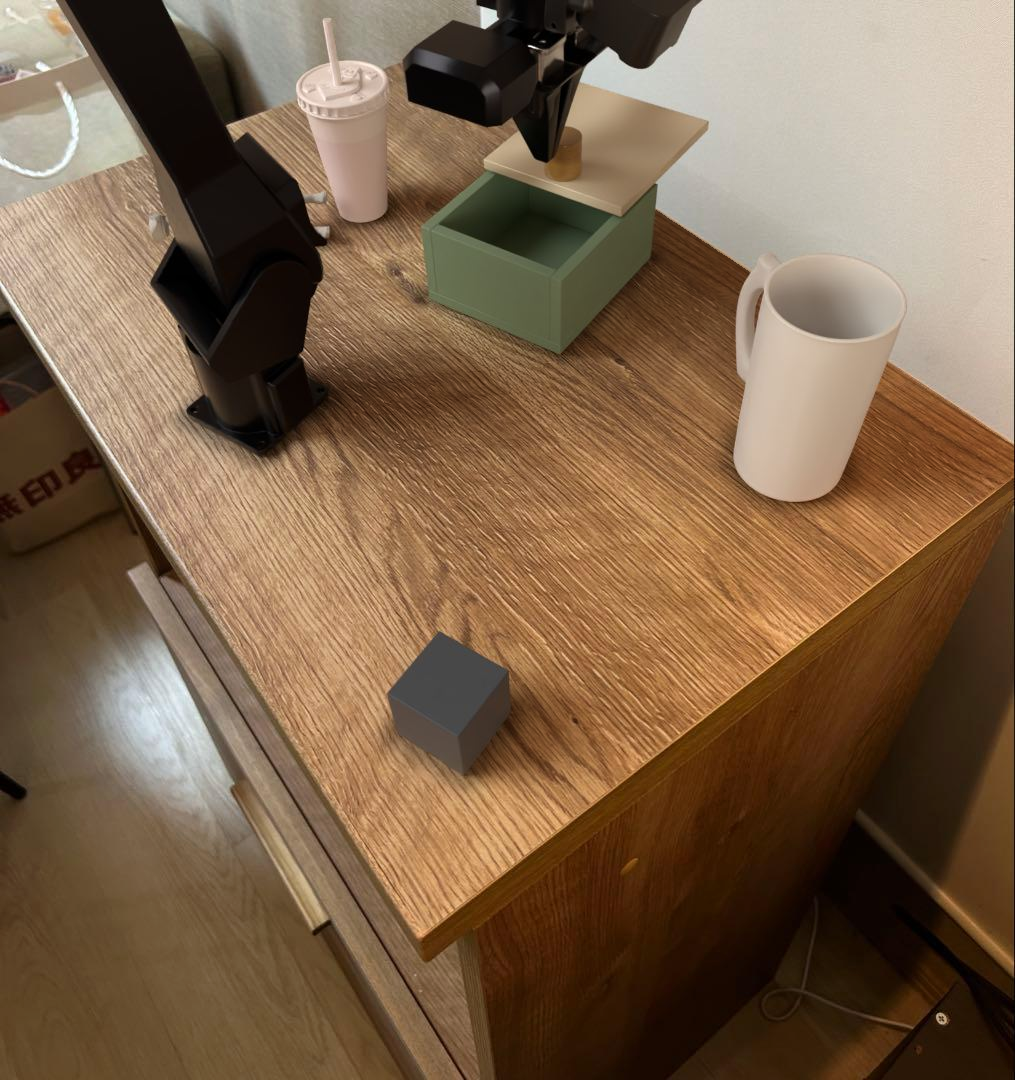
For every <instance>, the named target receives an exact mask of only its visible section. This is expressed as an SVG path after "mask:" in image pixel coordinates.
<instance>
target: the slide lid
mask: <svg viewBox="0 0 1015 1080" xmlns="http://www.w3.org/2000/svg"><path fill="white" fill-rule="evenodd" d="M709 124H710V121H709V120H708V119H707V120H706V119H703V118H699V117H698V116H694V115H690V114H687V113H684V112H681V111H677V110H673V109H672V108H671V109H670V108H667V107H665V106H664V107H663V106H661V105H657V104H655V103H650V102H648V101H644V100H642V99H639V98H634V97H631V96H629V95H628V96H627V95H625V94H621V93H618V92H614V91H611V90H607V89H604V88H601V87H598V86H595V85H591V84H588V83H584V82H582V81H580V82H579V85H578V87H577V90H576V93H575V96H574V99H573V102H572V105H571V108H570V111H569V115H568V118H567V121H566V124H565V127H564V130H563V133H562V137H561V140H560V143H559V146H558V149H557V152H556V155H555V157H554V158H553V159H552V160H550V161H549V162H548V163H544V162H541V161H538V160H536V159H535V158H534V157H533V155H532V154H531V152H530V150H529V148H528V146H527V144H526V143H525V141H524V139H523V137H522V135H521V133H520V131H519V130H517V131H516V132H515V133H513V134H512V135H511V136H510V137H508V139H506V140H505V141H504V142H503V143H501V144H500V145H499V146H498V147H497V148H496V149H494V150H493V151H492V152H491V153H490V154H488V155H487V156H486V157H485V158H484V159H483V168H484V169H485V170H486V171H487V170H490V171H493V172H496V173H498V174H501V175H504V176H507V177H510V178H512V179H515V180H518V181H521V182H524V183H527V184H529V185H532V186H535V187H538V188H541V189H544V190H546V191H549V192H552V193H555V194H558V195H560V196H563V197H566V198H569V199H572V200H575V201H577V202H580V203H583V204H586V205H589V206H592V207H594V208H597V209H600V210H603V211H606V212H608V213H611V214H614V215H617V216H620V217H621V216H622V215H623V214H624V213H625V212H626V211H627V210H628V209H629V208H630V207H631V206H632V205H633V204H634V203H635V202H636V201H637V200H638V199H639V198H640V197H641V196H642V195H643V194H644V193H645V192H646V191H647V190H648V189H649V188H650V187H651V186H652V185H653V184H654V183H657V182H658V181H659V180H660V179H661V178H662V177H663V176H664V175H665V174H666V172H668V171H669V169H670V168H672V167H673V165H675V164H676V163H677V162H678V161H679V160H680V159H681V158H682V157H683V156H684V154H686V153H687V152H688V151H689V150H690V149H691V148H692V147H693V146H694V145H695V144H696V143H697V142H698V141H699V140H700V139H701V138H702V137H703V135H705V133H707V132H708V130H709V126H710V125H709Z"/></svg>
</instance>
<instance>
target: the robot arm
mask: <svg viewBox="0 0 1015 1080" xmlns="http://www.w3.org/2000/svg"><path fill="white" fill-rule="evenodd" d="M55 2H56V3H57V5H58V7H59V8H60V10H61V12H62V14H63V16H64V17H65V19H66V20H67V22H68V24H69V26H70V28H72V30H73V32H74V34H75V35H76V37H77V38H78V40H79V42H80V43H81V45H82V47H83V48H84V50H85V51H86V53H87V55H88V57H89V58H90V60H91V61H92V63H93V65H94V66H95V68H96V70H97V72H99V75H100V77H101V78H102V80H103V81H104V83H105V85H106V87H107V88H108V90H109V92H110V93H111V95H112V96H113V98H114V100H115V102H116V103H117V104H118V106H119V108H120V110H121V111H122V113H123V115H124V117H125V118H126V119H127V121H128V123H129V124H130V126H131V128H132V130H133V131H134V133H135V135H136V136H137V138H138V139H139V141H140V142H141V144H142V146H143V148H144V149H145V150H146V153H147V154H148V157H149V158H150V161H151V164H152V166H153V170H154V175H155V182H156V186H157V192H158V194H159V195H158V196H159V199H160V202H161V206H162V208H163V211H164V213H165V216H167V218H168V221H169V222H168V224H169V223H170V224H169V227H170V229H171V231H172V234H173V236H174V237H173V238H172V240H171V242H170V244H169V246H168V247H167V250H166V251H165V253H164V255H163V257H162V258H161V261H160V262H159V264H158V266H157V268H156V270H155V272H154V274H153V276H152V277H151V279H150V281H149V286H150V287H151V289H152V290H153V291H154V293H155V294H156V296H157V297H158V298H159V300H160V301H161V303H162V304H163V305H164V307H165V308H166V309H167V310H168V312H169V314H170V315H171V316H172V317H173V319H174V320H175V321H176V323H177V330H178V332H179V334H180V335H179V336H180V337H181V340H182V343H183V345H184V347H185V351H186V353H187V356H188V358H189V361H190V364H191V367H192V369H193V372H194V374H195V377H196V380H197V382H198V386H199V388H200V390H201V393H202V394H201V396H199V397H198V398H197V399H196V400H194V401H193V402H192V403H191V404H190V405H188V406H187V408H186V410H185V412H186V415H187V418H188V419H189V420H191V421H192V422H194V423H196V424H198V425H200V426H202V427H204V428H205V429H208V430H210V431H211V432H213V433H214V434H217V435H219V436H220V437H223V438H224V439H226V440H228V441H230V442H231V443H233V444H235V445H237V446H239V447H241V448H243V449H245V450H246V451H249V452H250V453H252V454H253V455H256V456H264V455H267V454H268V453H269V452H270V451H271V450H272V449H273V448H275V446H277V445H278V444H279V443H280V442H281V441H283V440H284V439H285V438H286V437H287V436H288V435H289V434H290V433H291V432H293V431H294V430H295V428H297V427H298V426H299V425H300V424H301V423H302V422H303V421H305V419H307V417H309V416H310V415H311V414H312V413H313V412H314V411H315V410H317V408H319V407H320V406H321V405H322V404H323V403H325V401H326V400H327V399H329V397H330V390H329V387H328V386H327V385H326V384H324V383H323V382H320V381H317V380H315V379H313V378H311V377H309V376H308V373H307V370H306V365H305V361H304V359H303V357H301V356H300V354H302V353H303V352H304V349H305V343H306V337H307V329H308V322H309V316H310V309H311V301H312V298H313V297H314V296H315V293H316V291H317V288H318V286H319V284H321V282H322V281H323V279H324V265H323V261H322V257H321V253H320V252H319V250H318V248H320V247H326V246H327V245H328V244H329V243H328V239H327V238H324V237H323V236H322V235H321V234H320V233H319V232H318V231H317V230H316V228H315V227H316V226H314V225H313V223H312V222H311V219H310V217H309V213H308V208H307V203H306V204H305V200H304V197H303V194H304V193H303V191H302V189H301V187H300V185H299V182H298V180H297V179H295V177H293V175H292V174H291V173H290V172H289V171H288V170H287V169H286V168H285V167H284V166H283V165H282V164H281V163H280V162H279V161H278V160H277V159H276V158H275V157H274V156H273V155H272V154H271V153H270V152H269V151H268V150H267V149H266V148H265V147H264V146H263V145H262V144H260V142H259V141H258V140H257V139H255V137H254V136H253V135H252V134H251V133H250V132H248V131H246V132H245V133H243V134H242V135H241V136H240V137H239V138H237V139H236V140H234V139H233V136H232V135H231V132H230V131H229V129H228V127H227V125H226V123H225V120H224V119H223V117H222V114H221V113H220V111H219V109H218V107H217V105H216V103H215V101H214V99H213V97H212V95H211V93H210V91H209V89H208V87H207V85H206V83H205V82H204V79H203V78H202V75H201V73H200V72H199V70H198V67H197V65H196V63H195V62H194V60H193V58H192V56H191V54H190V53H189V50H188V48H187V46H186V44H185V42H184V40H183V39H182V36H181V35H180V33H179V30H178V29H177V26H176V23H174V21H173V19H172V16H171V14H170V12H169V10H168V9H167V7H166V5H165V3H164V1H163V0H55ZM701 2H703V0H475V4H476V6H478V7H481V8H485V9H488V10H492V11H496V18H497V20H495V21H494V22H493V23H492V24H490V25H489V26H488V27H485V28H483V27H479V26H475V25H473V24H469V23H465V22H462V21H458V20H455V19H452V20H450V21H449V22H447V23H446V24H444V25H443V26H441V27H440V28H438V30H436V31H435V32H433V33H431V34H430V35H429V36H427V37H426V38H424V39H422V40H421V41H419V42H418V43H417V44H416V45H414V46H413V47H412V48H411V49H410V51H408V53H406V55H405V56H404V57H403V58H402V68H403V77H404V84H405V85H404V86H405V93H406V97H407V101H408V103H412V104H416V105H418V106H421V107H424V108H427V109H429V110H433V111H436V112H439V113H442V114H445V115H449V116H450V117H454V118H457V119H460V120H463V121H466V122H469V123H471V124H475V125H478V126H481V127H484V128H493V127H501V126H503V125H504V124H506V123H507V122H509V120H511V119H512V121H513V122H514V124H515V126H516V127H517V129H518V130H517V131H520V133H521V135H522V137H523V139H524V141H525V143H526V144H527V146H528V148H529V150H530V152H531V154H532V155H533V157H534V158H535V159H536V160H538V161H541V162H544V163H548V162H549V161H550V160H552V159H553V158H554V157H555V155H556V152H557V149H558V146H559V143H560V140H561V137H562V133H563V130H564V127H565V124H566V121H567V118H568V115H569V111H570V108H571V105H572V102H573V99H574V96H575V93H576V90H577V87H578V85H579V82H581V79H582V76H583V74H584V71H585V69H586V67H587V66H588V65H589V64H590V63H591V62H592V61H593V60H595V59H596V58H597V57H598V56H599V55H600V54H602V53H603V52H604V51H606V50H607V49H608V48H609V49H610V50H612V52H614V53H616V54H617V56H618V57H617V58H618V59H619V61H621V62H622V63H624V64H625V65H627V66H628V67H631V68H632V69H636V70H646V69H648V68H651V67H652V66H653V65H654V64H655V62H656V61H657V60H658V59H659V57H660V56H662V55H663V54H664V53H665V52H666V51H668V50H669V49H670V48H673V47H674V46H675V45H676V44H677V43H678V42H679V39H680V37H681V35H682V33H683V31H684V29H685V26H686V24H687V22H688V20H689V17H690V16H691V13H692V12H693V9H694V8H695V7H697V6H698V5H699V4H700V3H701Z"/></svg>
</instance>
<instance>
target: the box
mask: <svg viewBox="0 0 1015 1080" xmlns="http://www.w3.org/2000/svg"><path fill="white" fill-rule="evenodd" d="M658 186H659V185H658V183H657V182H655V183H654V184H653V185H652V186H651V187H650V188H649V189H648V190H647V191H646V192H645V193H644V194H643V195H642V196H641V197H640V198H639V199H638V200H637V201H636V202H635V203H634V204H633V205H632V206H631V207H630V208H629V209H628V210H627V211H626V212H625V213H624V214H623V215H622V216H621V217H620V216H617V215H614V214H611V213H608V212H606V211H603V210H600V209H597V208H594V207H592V206H589V205H586V204H583V203H580V202H577V201H575V200H572V199H569V198H566V197H563V196H560V195H558V194H555V193H552V192H549V191H546V190H544V189H541V188H538V187H535V186H532V185H529V184H527V183H524V182H521V181H518V180H515V179H512V178H510V177H507V176H504V175H501V174H498V173H496V172H493V171H490V170H487V169H486V171H484V173H483V174H481V175H480V176H479V177H478V178H476V180H474V181H473V182H472V183H471V184H470V185H468V186H467V187H466V188H465V189H464V190H463V191H461V192H459V194H457V195H456V196H455V197H454V198H453V199H451V201H449V202H448V203H447V204H445V205H444V206H443V207H442V208H441V209H440V210H439V211H437V212H436V213H435V214H434V215H433V216H432V217H430V218H429V219H428V220H427V221H426V222H424V223H423V224H422V225H421V226H420V230H421V240H422V248H423V256H424V257H423V258H424V264H425V266H424V267H425V274H426V282H427V289H428V292H427V293H428V299H429V300H430V301H432V302H435V303H437V304H439V305H442V306H444V307H447V308H448V309H449V308H450V309H451V310H454V311H456V312H457V313H460V314H463V315H465V316H468V317H470V318H473V319H475V320H477V321H480V322H482V323H485V324H487V325H489V326H490V327H491V326H492V327H494V328H497V329H498V330H501V331H503V332H506V333H508V334H511V335H512V336H515V337H518V338H520V339H522V340H525V341H527V342H529V343H532V344H534V345H537V346H538V347H541V348H544V349H546V350H548V351H551V352H553V353H555V354H558V355H561V354H562V353H563V352H564V351H566V349H567V348H568V347H569V346H570V345H571V344H572V342H573V341H574V340H575V339H576V338H577V337H578V336H579V335H580V334H581V333H582V332H583V331H584V330H585V329H586V328H587V326H588V325H589V324H591V322H592V321H593V320H594V319H595V318H596V317H597V316H598V314H599V313H600V312H601V311H602V310H604V308H605V307H606V306H607V305H608V304H609V303H610V302H611V301H612V299H613V298H615V296H616V295H617V294H618V293H619V292H620V291H621V290H622V289H623V288H624V287H625V286H626V284H627V283H628V282H629V281H630V280H631V279H632V278H633V277H634V276H635V275H636V274H637V273H638V272H639V271H640V270H641V268H642V267H643V266H644V265H646V263H647V262H648V261H649V260H650V259H651V256H652V246H653V237H654V227H655V217H656V207H657V196H658Z"/></svg>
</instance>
